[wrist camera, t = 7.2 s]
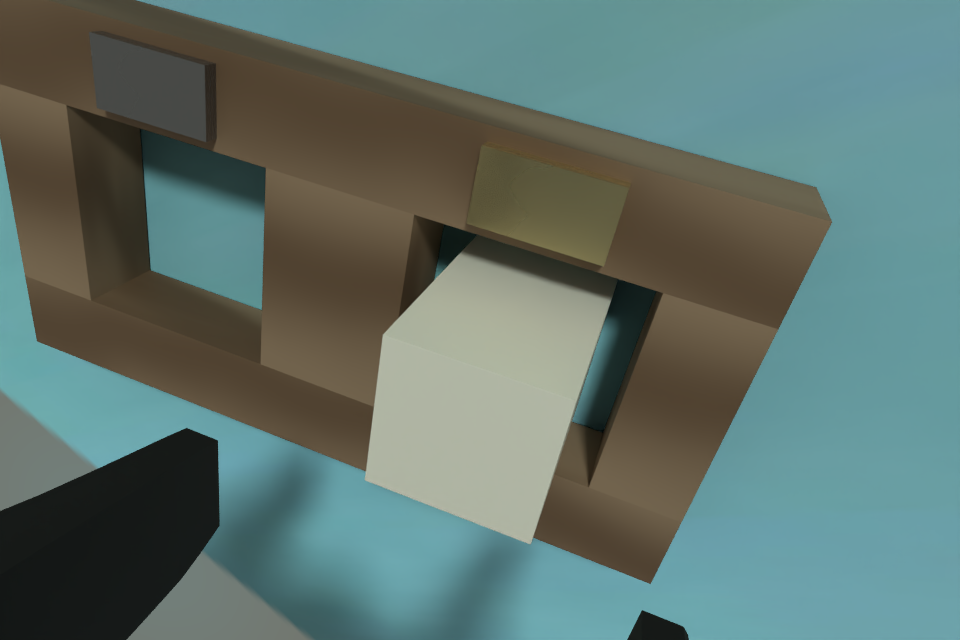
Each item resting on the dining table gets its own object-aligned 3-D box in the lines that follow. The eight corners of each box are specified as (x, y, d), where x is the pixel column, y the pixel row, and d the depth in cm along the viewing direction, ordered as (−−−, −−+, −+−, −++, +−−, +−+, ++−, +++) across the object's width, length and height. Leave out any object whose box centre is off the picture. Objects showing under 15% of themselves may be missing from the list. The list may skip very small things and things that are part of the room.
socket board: (657, 521, 20) (650, 584, 18) (96, 309, 24) (37, 341, 22) (816, 187, 15) (832, 222, 13) (56, -22, 19) (-29, -22, 17)
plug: (580, 396, 19) (530, 544, 14) (454, 354, 20) (364, 480, 15) (618, 277, 17) (577, 400, 12) (477, 234, 18) (382, 334, 13)
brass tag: (606, 260, 15) (603, 266, 14) (471, 218, 15) (466, 223, 15) (631, 182, 14) (629, 188, 13) (487, 141, 14) (481, 145, 14)
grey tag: (217, 138, 16) (206, 142, 16) (109, 105, 17) (97, 108, 17) (215, 63, 15) (204, 65, 15) (102, 31, 16) (88, 32, 16)
